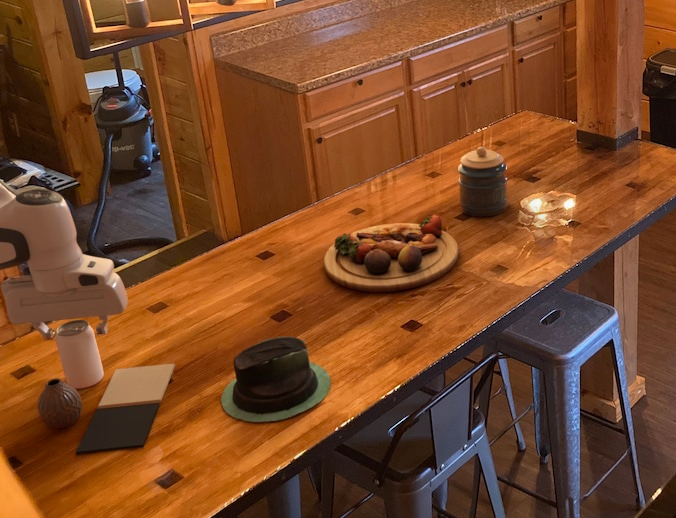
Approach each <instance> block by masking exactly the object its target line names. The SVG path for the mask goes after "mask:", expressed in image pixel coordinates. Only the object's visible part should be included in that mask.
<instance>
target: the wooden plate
mask: <svg viewBox="0 0 676 518" xmlns="http://www.w3.org/2000/svg"><path fill="white" fill-rule="evenodd" d="M423 220H424V221H423V222H422V221H420V222H419V223H411V222H397V223H395V222H394V223H386V224H379V225H373V226H369V227H365V228H362V229H359V230H356V231H353V232H351V233H348V234H347V233H346V232H345V233H341V234H339V235H338V236H336V238H335V239H334V243H333V244H331V246H330V247H329V248H328V249H327V251H326V252H325V255H324V257H323V262H322V264H323V269H324V271H325V273H326V274H327V276H328V277H329V278H330V280H332V281H334V282H335V283H337V284H338V285H340V286H343V287H346V288H348V289H351V290H357V291H362V292H373V293H383V292H385V293H387V292H388V293H389V292H397V291H404V290H409V289H412V288H416V287H417V288H418V287H420V286H422V285H426V284H428V283H430V282H433V281H435V280H437V279H439V278H441V277H443V276H444V275H445V274H446V273H448V272H449V271H450V270H451V269H452V268H453V267H454V266H455V264H456V263H457V261H458V259H459V255H460V249H459V245H458V243H457V241H456V239H454V237H452V235H450V234H449V233H448V232H446V231H444V230H443V221H442V219H441V218H440V216H439V215H437V214H432V215H431V216H429V215H428V216H427V217H425V218H423Z"/></svg>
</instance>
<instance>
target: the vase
mask: <svg viewBox="0 0 676 518" xmlns="http://www.w3.org/2000/svg"><path fill="white" fill-rule="evenodd" d="M82 411H83V401H82V398H81V395H80V393H79V392H78V390H77V389H75V388H73V387H72V386H70V385H68V384H67V382H64V381H63V380H62V379H60V378H56V377H55V378H52V379H50V380H49V379H48V381H47V382H46V383H45V386H44V389H43V390H42V392H41V393H40V395H39V397H38V400H37V413H38V415H39V418H40V419H41V421H42V422H43V423H44V425H46V426H48V427H49V428H53V429H57V430H58V429H60V430H61V429H65V428H68V427H71V426H72V425H74V424H75V423H76V422H77V421H78V419H79V418H80V416H81V414H82Z"/></svg>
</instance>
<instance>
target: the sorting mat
mask: <svg viewBox="0 0 676 518" xmlns="http://www.w3.org/2000/svg"><path fill="white" fill-rule="evenodd" d="M175 367H176V364H175V363H167V364H166V363H165V364H155V365H145V366H135V367H123V368H116V369H115V370H114V372H113V375H112V377H111V378H110V380H109V381H108V384H107V386H106V389H105V391H104V393H103V395H102V397H101V399H100V401H99V403H98V405H97V407H96V410H95V412H94V413H93V416H92V418H91V420H90V422H89V424H88V427H87V428H86V430H85V432H84V434H83V436H82V437H81V438H82V439H81V440H80V442H79V445H78V447H77V449H76V451H75V453H76V455H84V454H95V453H103V452H112V451H123V450H130V449H132V450H133V449H141V448H144V447H145V445H146V442H147V439H148V437H149V434H150V432H151V429H152V426H153V424H154V421H155V419H156V416H157V413H158V411H159V408H160V406H161V404H162V401H163V398H164V396H165V393H166V390H167V388H168V385H169V383H170V380H171V377H172V376H173V373H174V370H175Z"/></svg>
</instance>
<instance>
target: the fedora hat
mask: <svg viewBox="0 0 676 518" xmlns="http://www.w3.org/2000/svg"><path fill="white" fill-rule="evenodd" d="M233 368H234V374H235V378H234V379H233V380H232V381H231V382H229V383H228V384H227V386H226V387H224V390H223V392H222V395H221V398H220V399H221V400H220V401H221V402H220V403H221V406H222V408H223V410H224V412H225V413H227V414H228V415H229V416H231V417H233V418H234V419H237V420H238V419H239V420H242V421H245V422H252V423H262V422H263V423H264V422H273V421H274V422H276V421H281V420H285V419H288V418H291V417H294V416H296V415H299V414H300V413H303V412H305V411H307V410H310V409H311V408H313V407H315V406H317V404H319V403H321V402H322V401H323V400H324V399H325V398H326V397H327V395H328V393H329V391H330V388H331V384H332V383H331V381H332V379H331V376H330V374H329V372H327V370H326V369H325V368H324V367H323V366H320V365H319V364H317V363H315V362H311V361H310V359H309V352H308V347H307V345H306V340H305V339H301V338H298V337H297V336H277V337H273V338H268V339H264V340H263V341H260V342H258V343H256V344H253V345H251V346H248V347H247V348H245V349H243V350H241V352H239V353H237V354H236V356H235V357H234V358H233Z"/></svg>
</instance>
